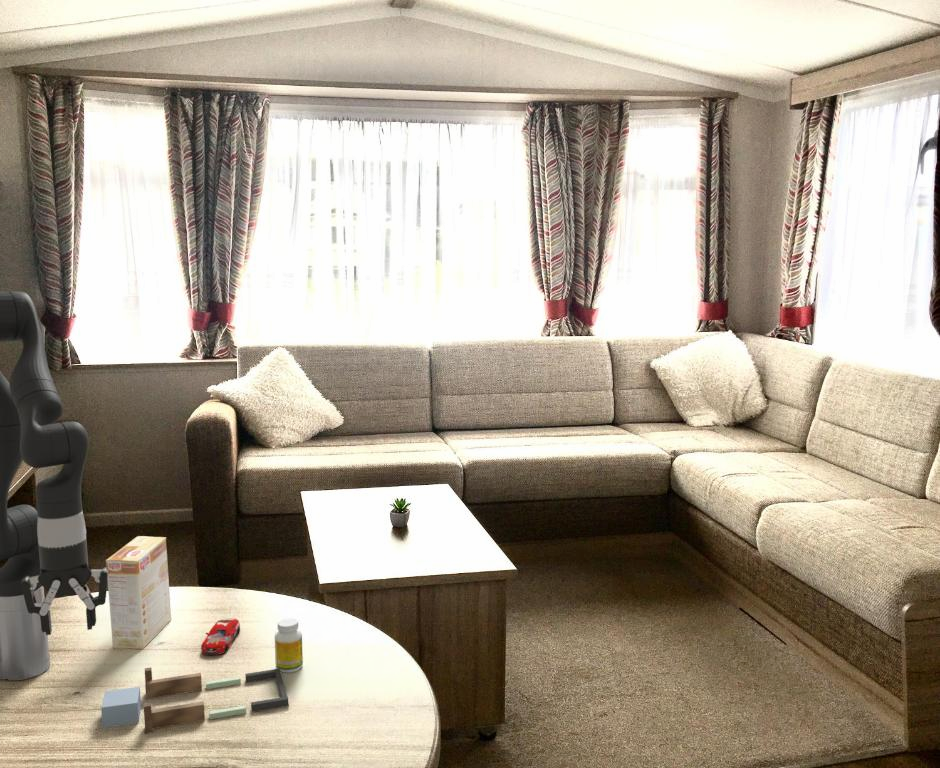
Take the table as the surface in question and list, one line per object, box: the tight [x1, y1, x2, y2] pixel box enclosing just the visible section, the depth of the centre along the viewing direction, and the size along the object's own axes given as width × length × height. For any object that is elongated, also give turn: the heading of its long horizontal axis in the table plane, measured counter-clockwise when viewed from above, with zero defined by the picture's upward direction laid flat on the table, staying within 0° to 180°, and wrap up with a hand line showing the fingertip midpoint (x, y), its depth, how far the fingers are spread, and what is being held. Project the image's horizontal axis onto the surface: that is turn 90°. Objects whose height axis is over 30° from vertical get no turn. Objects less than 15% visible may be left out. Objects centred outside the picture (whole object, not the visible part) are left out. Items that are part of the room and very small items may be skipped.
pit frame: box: [244, 668, 290, 713], centre depth 171 cm, size 7×12×1 cm, turn 19°
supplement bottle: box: [274, 617, 304, 674], centre depth 180 cm, size 5×5×10 cm
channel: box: [143, 666, 206, 734], centre depth 165 cm, size 10×15×5 cm
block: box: [100, 686, 142, 729], centre depth 163 cm, size 6×6×4 cm
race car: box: [200, 617, 241, 656], centre depth 192 cm, size 13×5×4 cm, turn 175°
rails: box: [205, 676, 247, 720], centre depth 169 cm, size 6×12×1 cm, turn 19°
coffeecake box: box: [105, 535, 172, 650], centre depth 195 cm, size 15×7×20 cm, turn 175°
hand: (69, 630), depth 158 cm, fingers open, 6 cm apart
